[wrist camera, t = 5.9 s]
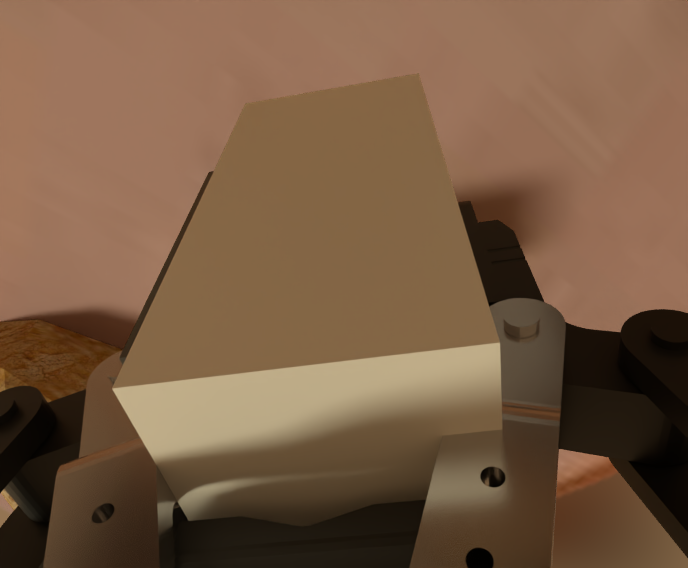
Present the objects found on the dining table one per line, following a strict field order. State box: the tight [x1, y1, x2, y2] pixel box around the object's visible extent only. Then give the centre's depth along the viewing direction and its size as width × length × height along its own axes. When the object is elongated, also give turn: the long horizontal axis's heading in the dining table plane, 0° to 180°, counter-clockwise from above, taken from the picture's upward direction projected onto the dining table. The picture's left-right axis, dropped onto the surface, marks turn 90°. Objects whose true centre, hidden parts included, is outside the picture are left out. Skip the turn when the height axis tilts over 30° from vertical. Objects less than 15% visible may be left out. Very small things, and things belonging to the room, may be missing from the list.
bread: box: [0, 319, 122, 510], centre depth 46 cm, size 36×11×10 cm, turn 46°
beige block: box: [112, 73, 502, 526], centre depth 11 cm, size 5×6×9 cm
